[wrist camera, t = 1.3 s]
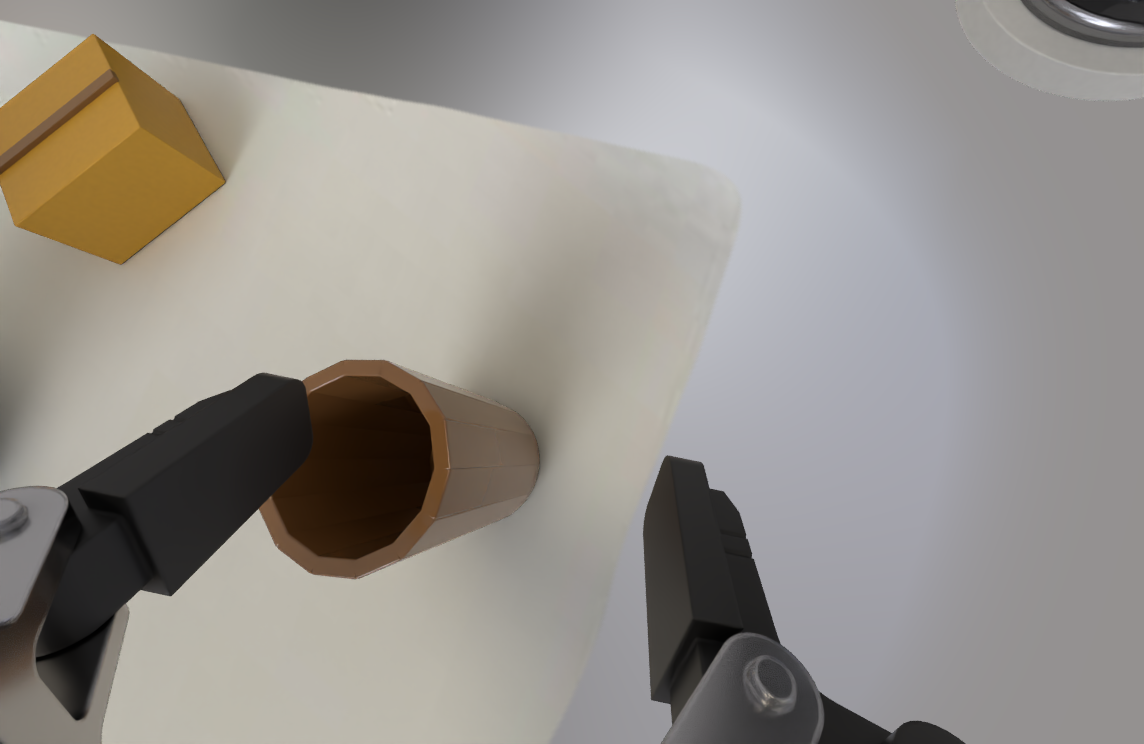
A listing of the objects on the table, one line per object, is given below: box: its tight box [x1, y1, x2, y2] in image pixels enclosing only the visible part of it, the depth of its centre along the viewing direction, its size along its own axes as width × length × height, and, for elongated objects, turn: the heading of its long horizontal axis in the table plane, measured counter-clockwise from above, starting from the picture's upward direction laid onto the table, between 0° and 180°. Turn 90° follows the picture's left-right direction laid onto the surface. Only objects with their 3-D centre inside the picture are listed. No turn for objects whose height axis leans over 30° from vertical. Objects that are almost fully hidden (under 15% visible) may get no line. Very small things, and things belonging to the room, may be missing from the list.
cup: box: [259, 360, 540, 579], centre depth 17 cm, size 6×6×10 cm
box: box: [0, 34, 225, 264], centre depth 27 cm, size 9×9×5 cm
